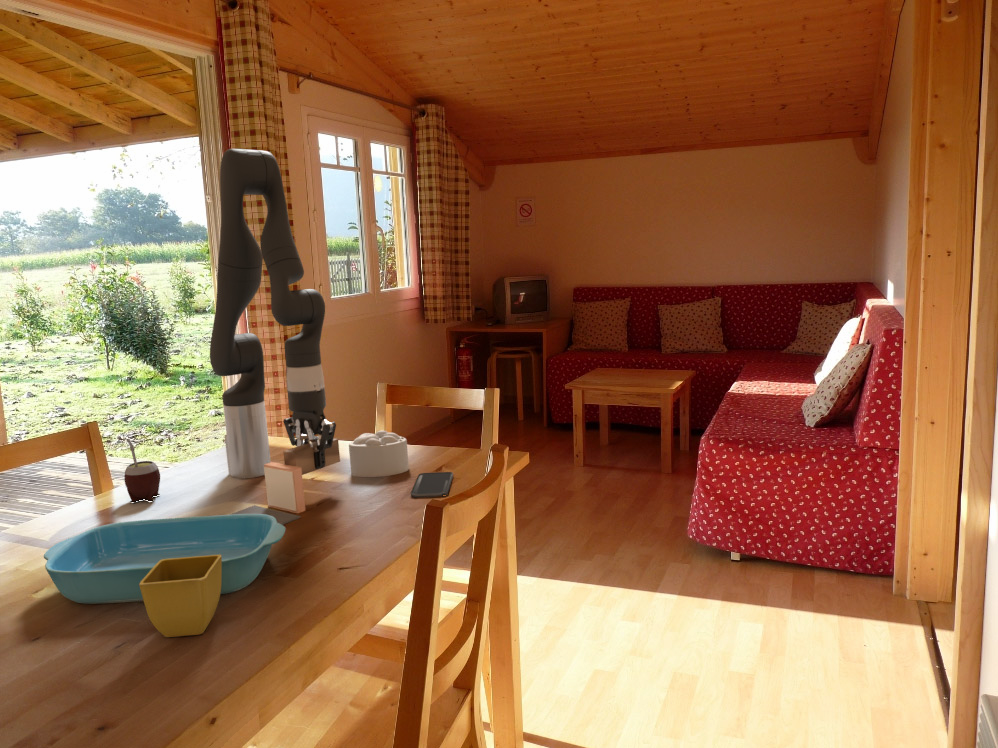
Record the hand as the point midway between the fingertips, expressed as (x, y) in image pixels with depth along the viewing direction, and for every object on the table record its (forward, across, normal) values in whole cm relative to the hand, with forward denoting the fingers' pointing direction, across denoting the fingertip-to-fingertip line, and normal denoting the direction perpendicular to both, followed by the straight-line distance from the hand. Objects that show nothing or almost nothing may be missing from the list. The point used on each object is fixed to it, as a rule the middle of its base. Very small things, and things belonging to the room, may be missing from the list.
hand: (313, 466), depth 163 cm
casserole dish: (+7, +9, -40) cm, 42 cm away
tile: (+7, 0, -8) cm, 10 cm away
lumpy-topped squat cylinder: (+7, -1, +21) cm, 22 cm away
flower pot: (+7, +27, -49) cm, 57 cm away
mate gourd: (+7, -33, -18) cm, 39 cm away
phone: (+7, +18, +17) cm, 26 cm away
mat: (+7, 0, -15) cm, 16 cm away
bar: (0, 0, 0) cm, 0 cm away
